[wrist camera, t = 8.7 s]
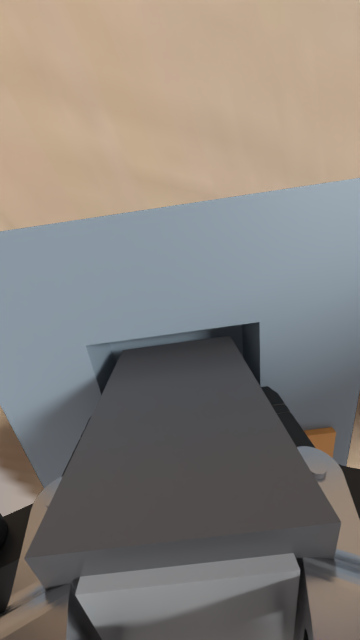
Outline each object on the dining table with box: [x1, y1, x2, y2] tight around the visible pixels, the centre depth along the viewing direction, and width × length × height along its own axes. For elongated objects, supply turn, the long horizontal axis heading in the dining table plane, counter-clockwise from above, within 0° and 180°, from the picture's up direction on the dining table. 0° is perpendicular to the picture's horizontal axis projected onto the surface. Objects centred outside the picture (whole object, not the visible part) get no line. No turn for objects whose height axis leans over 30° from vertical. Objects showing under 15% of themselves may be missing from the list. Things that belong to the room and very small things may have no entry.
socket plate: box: [0, 178, 360, 488], centre depth 11 cm, size 16×16×3 cm
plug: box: [24, 336, 341, 640], centre depth 7 cm, size 5×5×7 cm
